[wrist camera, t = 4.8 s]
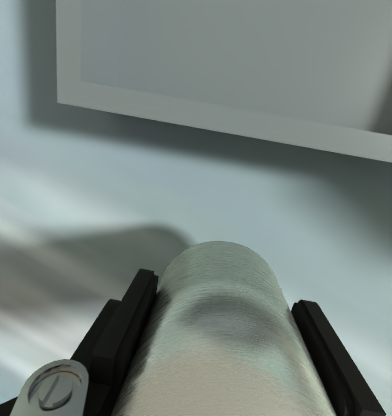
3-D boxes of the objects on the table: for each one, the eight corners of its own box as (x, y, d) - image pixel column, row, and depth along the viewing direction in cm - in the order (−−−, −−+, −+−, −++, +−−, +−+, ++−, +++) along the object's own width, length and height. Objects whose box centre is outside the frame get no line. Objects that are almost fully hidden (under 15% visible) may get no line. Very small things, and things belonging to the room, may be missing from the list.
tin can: (262, 352, 12) (356, 777, 4) (153, 330, 12) (37, 702, 4) (293, 254, 10) (543, 622, 2) (169, 230, 10) (30, 511, 3)
